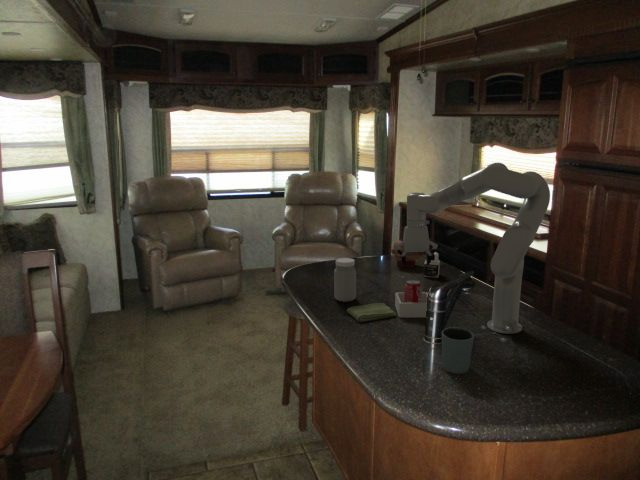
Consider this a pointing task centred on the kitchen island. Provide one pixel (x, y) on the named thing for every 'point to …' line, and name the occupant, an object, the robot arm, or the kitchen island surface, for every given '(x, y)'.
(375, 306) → the washcloth
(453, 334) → the grey teal cup
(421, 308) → the tote
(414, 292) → the soda can
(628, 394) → the kitchen island surface
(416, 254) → the decorative planter
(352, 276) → the jar
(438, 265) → the medicine bottle
